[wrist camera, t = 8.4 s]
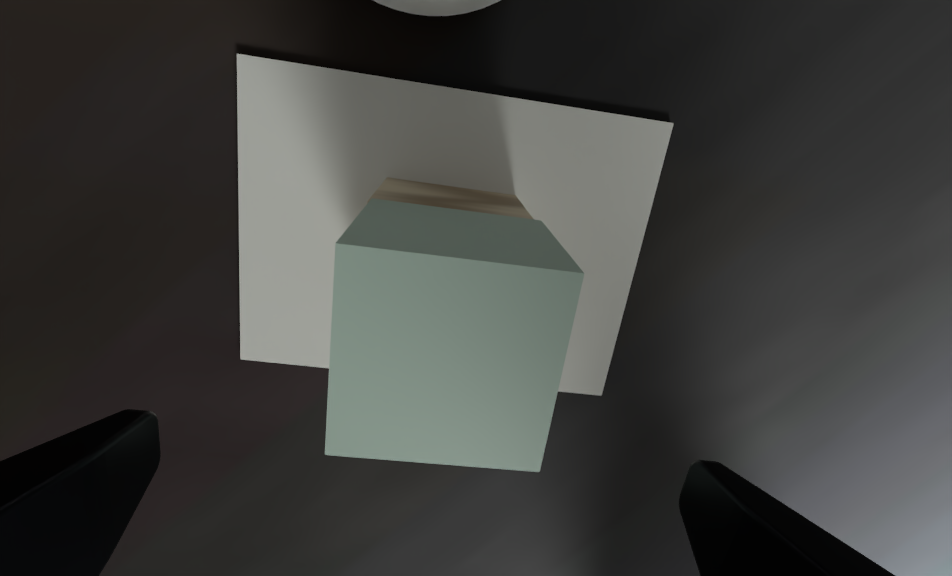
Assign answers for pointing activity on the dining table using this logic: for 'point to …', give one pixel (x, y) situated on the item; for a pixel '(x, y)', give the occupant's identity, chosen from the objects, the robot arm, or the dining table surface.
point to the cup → (437, 6)
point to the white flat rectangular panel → (430, 161)
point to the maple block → (450, 197)
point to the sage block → (447, 336)
